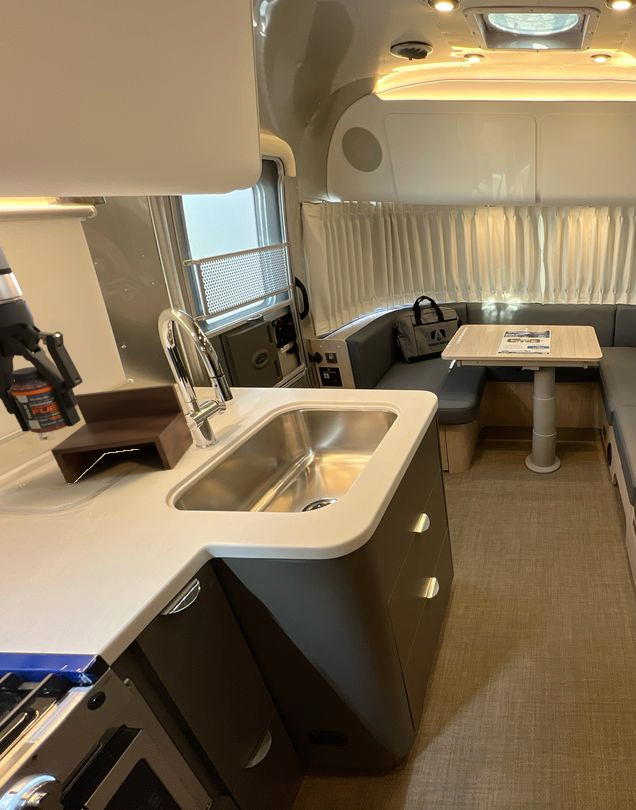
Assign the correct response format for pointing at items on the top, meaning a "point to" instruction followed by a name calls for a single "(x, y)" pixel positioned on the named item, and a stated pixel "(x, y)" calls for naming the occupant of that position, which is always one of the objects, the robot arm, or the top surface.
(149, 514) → the top surface
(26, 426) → the robot arm
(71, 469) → the shelf
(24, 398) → the supplement bottle
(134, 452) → the top surface
